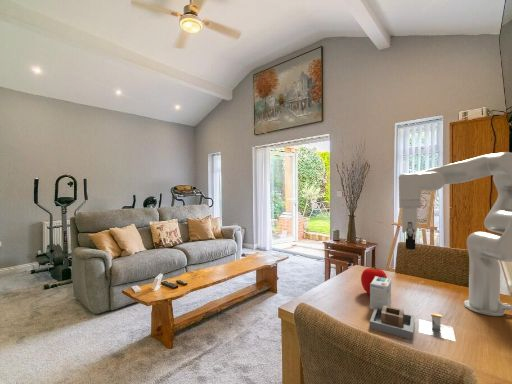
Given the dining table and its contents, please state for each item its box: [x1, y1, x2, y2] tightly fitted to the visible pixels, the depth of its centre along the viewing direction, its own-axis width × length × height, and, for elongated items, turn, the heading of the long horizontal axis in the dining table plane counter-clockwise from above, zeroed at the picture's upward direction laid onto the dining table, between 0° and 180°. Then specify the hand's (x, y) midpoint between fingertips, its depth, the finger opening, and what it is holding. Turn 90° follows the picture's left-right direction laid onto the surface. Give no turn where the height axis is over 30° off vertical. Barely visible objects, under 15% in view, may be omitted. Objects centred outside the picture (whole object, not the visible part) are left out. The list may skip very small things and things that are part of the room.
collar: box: [381, 305, 405, 328], centre depth 93 cm, size 7×7×5 cm
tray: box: [369, 307, 415, 341], centre depth 93 cm, size 13×13×4 cm
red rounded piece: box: [360, 266, 388, 295], centre depth 121 cm, size 11×11×13 cm
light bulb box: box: [369, 276, 392, 310], centre depth 110 cm, size 11×7×11 cm, turn 145°
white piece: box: [418, 312, 456, 342], centre depth 90 cm, size 10×10×6 cm
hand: (410, 246), depth 105 cm, fingers open, 9 cm apart
